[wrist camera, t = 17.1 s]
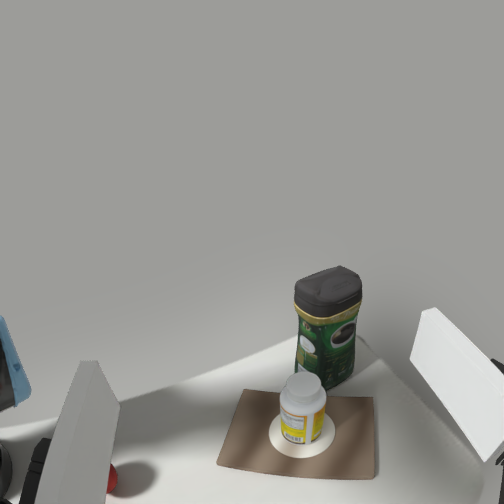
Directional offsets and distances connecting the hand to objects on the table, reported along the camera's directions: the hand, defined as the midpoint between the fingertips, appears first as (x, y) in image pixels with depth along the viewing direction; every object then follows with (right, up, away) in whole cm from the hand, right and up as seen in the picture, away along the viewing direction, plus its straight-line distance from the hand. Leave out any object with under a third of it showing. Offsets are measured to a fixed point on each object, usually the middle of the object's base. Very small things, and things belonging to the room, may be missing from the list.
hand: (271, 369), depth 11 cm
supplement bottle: (+6, -20, +25) cm, 33 cm away
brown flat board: (+6, -21, +26) cm, 34 cm away
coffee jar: (+11, -16, +37) cm, 42 cm away
